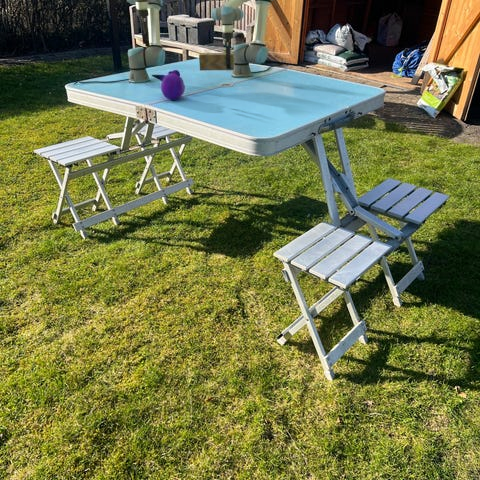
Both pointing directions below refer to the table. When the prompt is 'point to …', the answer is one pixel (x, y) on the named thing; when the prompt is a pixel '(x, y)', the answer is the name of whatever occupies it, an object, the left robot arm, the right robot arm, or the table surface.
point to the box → (215, 61)
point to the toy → (171, 85)
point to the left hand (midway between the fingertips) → (146, 45)
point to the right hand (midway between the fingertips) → (228, 67)
